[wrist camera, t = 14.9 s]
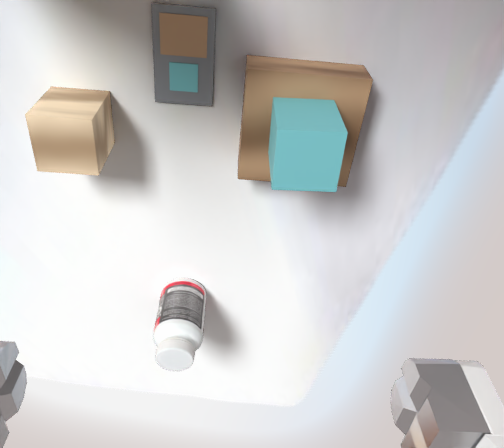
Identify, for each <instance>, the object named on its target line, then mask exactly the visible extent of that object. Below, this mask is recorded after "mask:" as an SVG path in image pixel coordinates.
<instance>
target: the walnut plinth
mask: <svg viewBox="0 0 504 448" xmlns="http://www.w3.org/2000/svg"><path fill="white" fill-rule="evenodd" d="M372 82H373V79H372V78H371V76H370V75H369V73H368V71H367V70H366V68H365V67H364V65H354V64H343V63H331V62H320V61H309V60H298V59H286V58H275V57H264V56H253V55H247V61H246V73H245V85H244V97H243V109H242V120H241V132H240V144H239V156H238V179H245V180H259V181H271V177H270V166H269V155H268V150H269V138H270V126H271V114H272V102H273V97H280V98H301V99H323V100H334V101H335V103H336V105H337V108H338V110H339V113H340V115H341V118H342V120H343V122H344V125H345V127H346V130H347V132H348V134H347V139H346V144H345V149H344V154H343V159H342V165H341V170H340V175H339V180H338V185H337V186H342V187H346V184H347V180H348V177H349V173H350V169H351V165H352V161H353V157H354V153H355V149H356V145H357V141H358V137H359V133H360V129H361V125H362V121H363V117H364V113H365V109H366V106H367V102H368V98H369V94H370V90H371V86H372Z"/></svg>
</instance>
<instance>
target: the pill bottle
mask: <svg viewBox="0 0 504 448" xmlns="http://www.w3.org/2000/svg"><path fill="white" fill-rule="evenodd" d="M205 307H206V291H205V289H204V287H203V286H202V285H201V284H200V283H198V282H197V281H195V280H192V279H189V278H177V279H173V280H171V281H169V282H167V283H166V284H165V286H164V287H163V289H162V293H161V297H160V303H159V308H158V313H157V318H156V323H155V328H154V333H153V339H154V343H155V344H156V346H157V349H156V356H155V360H156V362H157V364H158V365H159V366H160V367H162V368H163V369H166V370H170V371H182V370H185V369H188V368H189V367H190V366H191V365H192V364H193V361H194V355H195V351H196V350H197V349H198V348H199V347H200V345H201V343H202V339H203V331H204V318H205Z"/></svg>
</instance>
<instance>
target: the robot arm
mask: <svg viewBox="0 0 504 448" xmlns="http://www.w3.org/2000/svg"><path fill="white" fill-rule="evenodd" d="M18 353H19V351H18V348H17V346H16V343H15V342H10V341H0V448H3V446H4V444H5V441H6V439H7V436H8V434H9V430H8V427H7V424H6V421H7V420H8V419H9V418H11V417H12V416H13V415H14V414H16V413H17V412H18V410H19V408H20V406H21V403H22V400H23V398H24V393H25V388H26V384H27V382H26V371H25V368H24V365H22V364H21V363H19V362H18V361H17V360H16V358H17V355H18ZM401 369H402V373H403V376H402V377H401V378H399V379H397V380H396V381H395V383H394V385H393V388H392V390H391V391H392V392H391V409H392V415H393V419H394V423H395V425H396V426H397V427H398V428H399V429H400V430H401V431H402V432H403V433H404V434H405V436H404V438H403V441H402V443H401V448H504V406H503V404H502V402H501V400H500V398H499V396H498V394H497V392H496V390H495V388H494V386H493V384H492V382H491V380H490V378H489V376H488V374H487V372H486V370H485V368H484V366H483V365H482V364H481V363H479V362H478V361H457V360H455V361H454V360H450V359H449V360H448V359H447V360H446V359H415V358H409V359H408V360H406V361H405V362H404V364H403V366H402V368H401Z"/></svg>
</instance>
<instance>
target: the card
mask: <svg viewBox="0 0 504 448" xmlns="http://www.w3.org/2000/svg"><path fill="white" fill-rule="evenodd" d="M151 5H152V30H153V55H154V80H155V102H164V103H177V104H190V105H203V106H212V98H213V72H214V46H215V20H216V8H205V7H194V6H183V5H172V4H161V3H151Z"/></svg>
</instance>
